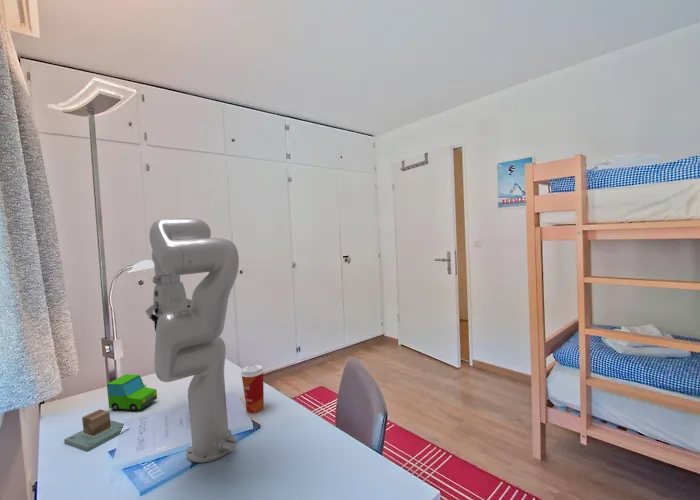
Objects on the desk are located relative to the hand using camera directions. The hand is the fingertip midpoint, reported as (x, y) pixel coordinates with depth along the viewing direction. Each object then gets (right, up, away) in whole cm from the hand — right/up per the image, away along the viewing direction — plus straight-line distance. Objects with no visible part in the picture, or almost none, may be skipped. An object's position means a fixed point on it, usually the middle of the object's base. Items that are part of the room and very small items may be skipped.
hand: (172, 328), depth 121 cm
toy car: (-16, -30, +5) cm, 34 cm away
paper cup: (+30, -27, -3) cm, 40 cm away
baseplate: (-16, -30, -14) cm, 37 cm away
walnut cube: (-16, -28, -14) cm, 35 cm away
